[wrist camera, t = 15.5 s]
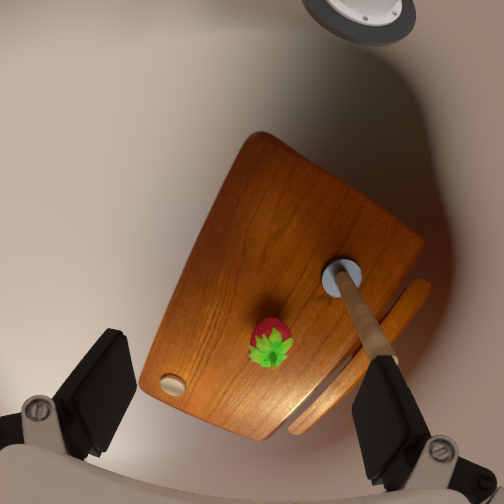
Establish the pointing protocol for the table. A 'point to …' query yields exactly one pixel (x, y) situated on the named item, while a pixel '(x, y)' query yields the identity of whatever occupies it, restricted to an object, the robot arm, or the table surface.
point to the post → (355, 304)
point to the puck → (173, 385)
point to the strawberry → (270, 343)
